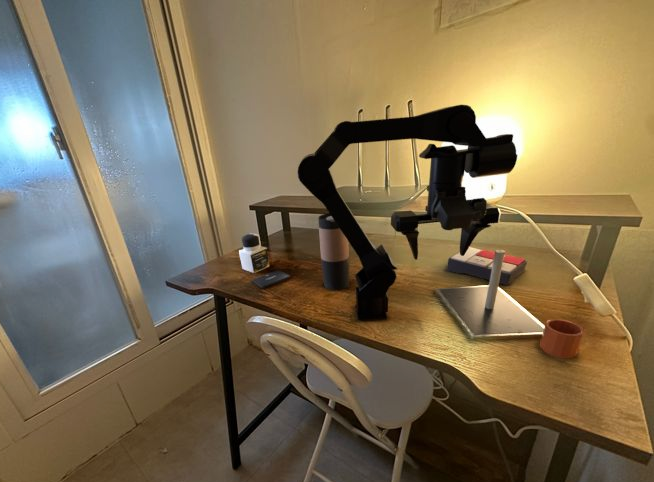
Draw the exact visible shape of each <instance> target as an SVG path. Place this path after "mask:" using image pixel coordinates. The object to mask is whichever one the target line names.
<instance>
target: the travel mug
mask: <svg viewBox="0 0 654 482" xmlns="http://www.w3.org/2000/svg"><path fill="white" fill-rule="evenodd" d="M317 220H318V234H319V248H320V263H321V269H322V280H323V285H324V287H325V288H326V289H327V290H331V291H340V290H344V289H347V288H348V287H349V285H350V246H349V245H350V243H349V241H348V240H347V238H346V237H345V235H344V234H343V232H342V231H341V229H340V228H339V226H338V225H337V224H336V222H335V221H334V219H333V218H332V216H331V215H330V213H329V212H328V213H323V214H321V215H319V216H318V219H317Z"/></svg>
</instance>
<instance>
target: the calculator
mask: <svg viewBox="0 0 654 482" xmlns="http://www.w3.org/2000/svg"><path fill="white" fill-rule="evenodd" d="M494 255H495V251H492V250H487V249H480V248H477V247H471V246H469V248H468V250H467V251H466V253H465V255H464V256H461V255H460V251H458V252H456V253H455V254H454V255H452V256H450V257H449V258H448V259H447V265H446V271H448V272H451V273H455V274H466V275H469V276H473V277H477V278H480V279H483V280H486V281H490V277H491V271H492V266H493V260H494ZM527 264H528V260H526V258H523V257H518V256H515V255H510V254H504V259H503V264H502V270H501V275H500V280H499V284H500V285H505V286H508V285H509V284H511V283H513V281H514V280H515V279H517V278H518V277H519V276H521V274H523V273H524V272H525V271H526V267H527Z"/></svg>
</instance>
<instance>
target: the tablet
mask: <svg viewBox="0 0 654 482" xmlns="http://www.w3.org/2000/svg"><path fill="white" fill-rule="evenodd" d="M488 287H489V284H488V285H486V284H485V285H471V286H455V287H439V288H434V293H435V294H436V296H437V298H439V299H440V300H441V301H442V303H443V304H444V305H445V306H446V308H447V309H448V310H449V312H450V313H451V314H452V316H453V317H454V319H455V320H456V321H457V322H458V324H459V325H460V327H461V328H462V330H463V331H464V332H465V333H466V335H467V336H468V337H469V339H470V340H471V341H473V340H474V341H475V340H499V339H524V338H525V339H526V338H527V339H528V338H541V337H542V334H543V331H544V327H545V324H543V323H542V322H541V321H539V319H538V318H536V317H535V316H534V315H532V314H531V313H530V312H529V311H528V310H527V309H526V308H524V307H523V306H522V305H521V304H520V303H518V302H517V301H516V300H515V299H514V298H513V297H511V296H510V295H509V294H508V293H507V292H505V290H504V289H502V288H501V287H499V286H498V290H497V295H496V300H495V305H494V308H493V309H487V308H486V307H485V304H486V298H487V293H488Z"/></svg>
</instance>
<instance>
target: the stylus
mask: <svg viewBox="0 0 654 482" xmlns="http://www.w3.org/2000/svg"><path fill="white" fill-rule="evenodd" d="M494 252H495V255H494V260H493V266H492V271H491V277H490V280H489V282H488V285H489V287H488V293H487V298H486V304H485V307H486V308H487V309H493V308H494V305H495V300H496V295H497V290H498V287H499V284H500V283H499V280H500V275H501V270H502V264H503V259H504V254H505V253H506V251H505V250H502V249H497V250H495V251H494Z"/></svg>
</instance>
